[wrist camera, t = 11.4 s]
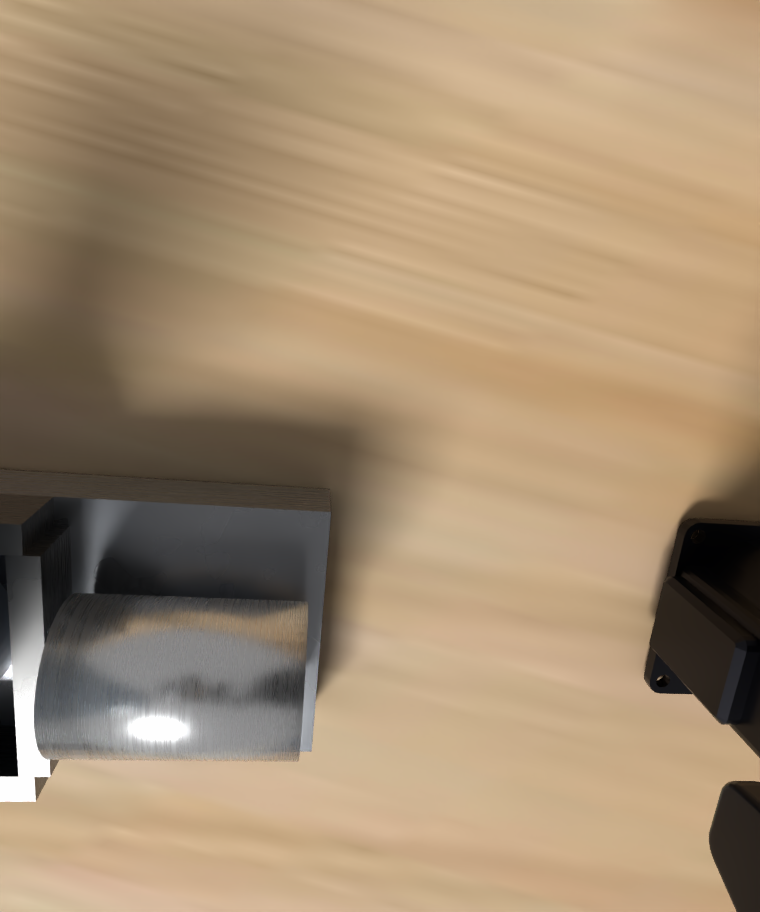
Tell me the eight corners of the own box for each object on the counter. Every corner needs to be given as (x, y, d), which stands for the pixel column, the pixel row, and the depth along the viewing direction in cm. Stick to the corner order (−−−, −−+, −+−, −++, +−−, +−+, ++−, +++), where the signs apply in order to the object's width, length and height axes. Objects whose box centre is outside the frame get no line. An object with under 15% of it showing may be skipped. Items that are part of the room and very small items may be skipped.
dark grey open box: (329, 488, 20) (336, 576, 14) (311, 709, 22) (311, 863, 16) (-204, 457, 18) (-442, 542, 12) (-168, 701, 20) (-357, 870, 15)
